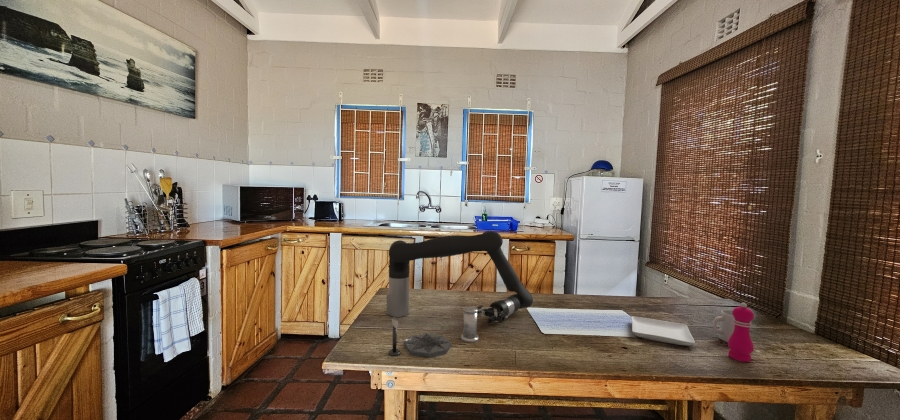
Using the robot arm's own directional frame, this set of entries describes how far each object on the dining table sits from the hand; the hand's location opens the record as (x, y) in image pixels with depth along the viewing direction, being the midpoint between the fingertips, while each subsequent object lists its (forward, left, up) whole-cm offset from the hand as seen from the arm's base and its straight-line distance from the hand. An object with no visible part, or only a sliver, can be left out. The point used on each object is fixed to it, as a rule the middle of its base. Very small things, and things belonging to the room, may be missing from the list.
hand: (479, 318), depth 146 cm
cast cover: (-3, -6, -6) cm, 9 cm away
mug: (+95, +27, -7) cm, 99 cm away
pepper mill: (+92, +10, -7) cm, 93 cm away
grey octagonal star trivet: (-16, -18, -6) cm, 25 cm away
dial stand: (-23, -25, -6) cm, 35 cm away
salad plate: (+70, +24, -7) cm, 75 cm away
